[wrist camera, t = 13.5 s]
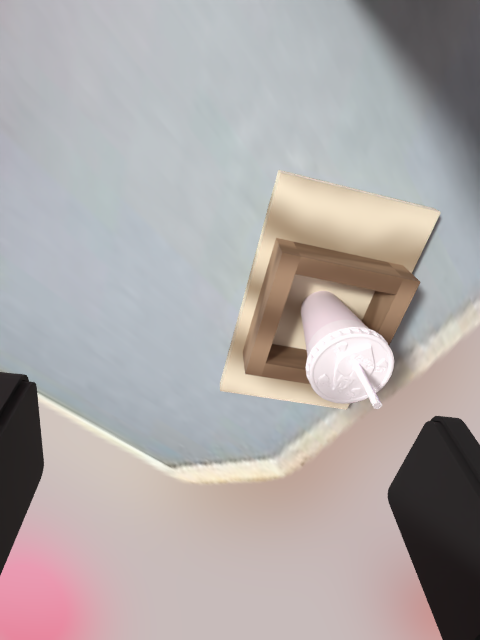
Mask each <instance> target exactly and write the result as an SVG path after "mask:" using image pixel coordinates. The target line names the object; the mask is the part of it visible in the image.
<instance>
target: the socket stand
mask: <svg viewBox="0 0 480 640" xmlns="http://www.w3.org/2000/svg"><path fill="white" fill-rule="evenodd" d="M440 213H441V212H439V211H438V210H436V209H434V208H430V207H426V206H422V205H418V204H414V203H410V202H406V201H402V200H398V199H394V198H390V197H386V196H382V195H378V194H374V193H370V192H366V191H361V190H357V189H353V188H349V187H345V186H341V185H337V184H333V183H329V182H325V181H321V180H317V179H313V178H309V177H305V176H301V175H297V174H293V173H289V172H285V171H281V170H278V174H277V178H276V181H275V185H274V188H273V192H272V196H271V199H270V203H269V207H268V210H267V214H266V218H265V221H264V225H263V229H262V232H261V236H260V239H259V243H258V247H257V250H256V254H255V258H254V261H253V265H252V269H251V272H250V276H249V280H248V283H247V287H246V290H245V294H244V298H243V301H242V305H241V309H240V312H239V316H238V320H237V323H236V327H235V331H234V334H233V338H232V341H231V345H230V349H229V352H228V356H227V360H226V363H225V367H224V371H223V374H222V378H221V382H220V391H225V392H231V393H238V394H245V395H252V396H258V397H265V398H272V399H278V400H285V401H292V402H299V403H305V404H312V405H319V406H326V407H332V408H339V409H346V410H347V408H348V406H349V404H350V403H347V404H341V403H334V402H330V401H327V400H325V399H323V398H321V397H320V396H319V395H318V394H316V392H315V391H314V390H313V388H312V386H311V384H310V382H309V380H308V378H307V375H306V368H305V367H306V362H307V349H306V343H305V337H304V330H303V324H302V317H301V306H302V303H303V301H304V300H305V299H306V298H307V297H308V296H309V295H310V294H312V293H314V292H317V291H329V292H331V293H333V294H334V295H336V296H337V297H338V298H339V299H340V300H341V301H342V302H343V303H344V304H345V305H346V306H347V307H348V308H349V309H350V310H351V311H352V312H353V313H354V314H355V315H356V316H357V317H358V318H359V319H360V320H361V321H362V322H363V323H364V324H365V325H366V326H367V327H368V328H369V329H371V330H374V331H375V332H377V333H378V334H380V335H382V337H383V338H384V339H385V340H386V342H387V343H388V346H389V345H390V343H391V341H392V339H393V337H394V334H395V332H396V330H397V328H398V326H399V324H400V322H401V320H402V318H403V316H404V314H405V312H406V310H407V308H408V306H409V304H410V302H411V300H412V298H413V296H414V294H415V292H416V290H417V288H418V286H419V284H420V281H419V280H418V279H417V278H416V277H415V276H414V275H413V274H412V272H413V270H414V267H415V265H416V263H417V261H418V259H419V257H420V255H421V253H422V251H423V249H424V246H425V244H426V242H427V240H428V238H429V236H430V234H431V232H432V230H433V228H434V226H435V223H436V221H437V219H438V217H439V215H440Z"/></svg>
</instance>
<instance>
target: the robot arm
mask: <svg viewBox="0 0 480 640" xmlns="http://www.w3.org/2000/svg"><path fill="white" fill-rule="evenodd" d="M43 467H44V459H43V449H42V438H41V428H40V418H39V407H38V397H37V387H36V383H35V382H29V380H28V377H27V375H23V374H13V373H3V372H0V575H1V572H2V570H3V568H4V565H5V563H6V561H7V558H8V556H9V553H10V551H11V549H12V546H13V544H14V541H15V539H16V536H17V534H18V531H19V529H20V527H21V525H22V522H23V520H24V517H25V515H26V513H27V510H28V508H29V506H30V503H31V501H32V498H33V496H34V494H35V491H36V489H37V486H38V484H39V481H40V479H41V476H42V473H43ZM388 501H389V504H390V507H391V509H392V512H393V514H394V517H395V519H396V522H397V525H398V527H399V530H400V532H401V534H402V537H403V540H404V542H405V545H406V547H407V550H408V552H409V555H410V557H411V560H412V563H413V565H414V568H415V570H416V573H417V575H418V578H419V580H420V583H421V585H422V588H423V591H424V593H425V596H426V598H427V601H428V603H429V606H430V608H431V611H432V613H433V616H434V619H435V621H436V624H437V626H438V629H439V631H440V634H441V636H442V639H443V640H480V445H479V443H478V442H477V440H476V439H475V437H474V436H473V435H472V433H471V432H470V430H469V429H468V427H467V426H466V424H465V423H464V422H463V421H462V420H461V419H459V418H452V417H441V416H435V417H434V418H432V419H431V421H428V422H426V423H425V425H424V426H423V428H422V430H421V432H420V433H419V435H418V437H417V439H416V441H415V443H414V444H413V446H412V448H411V449H410V451H409V453H408V455H407V457H406V459H405V460H404V462H403V464H402V466H401V467H400V469H399V471H398V473H397V475H396V476H395V478H394V480H393V482H392V483H391V485H390V487H389V490H388Z"/></svg>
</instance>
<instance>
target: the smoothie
mask: <svg viewBox="0 0 480 640" xmlns="http://www.w3.org/2000/svg"><path fill="white" fill-rule="evenodd" d="M301 317H302V324H303V330H304V337H305V343H306V349H307V362H306V367H305V368H306V375H307V378H308V380H309V382H310V384H311V386H312V388H313V390H314V391H315V392H316V394H318V395H319V396H320V397H321V398H323V399H325V400H327V401H330V402H334V403H341V404H347V403H354V402H359V401H362V400H364V399H367V398H369V400H370V402H371V404H372V406H373V407H374V408H375V409H379V408H381V406H382V403H381V402H380V400H379V398H378V396H377V394H376V393H377V392H378V391H379V390H380V389H382V388H383V387H384V385H385V384H386V383H387V382H388V380H389V379H390V377H391V375H392V372H393V368H394V356H393V353H392V351H391V349H390V347H389V346H388V343H387V342H386V340H385V339H384V338H383V337H382V335H380V334H378V333H377V332H375V331H374V330H371V329H369V328H368V327H367V326H366V325H365V324H364V323H363V322H362V321H361V320H360V319H359V318H358V317H357V316H356V315H355V314H354V313H353V312H352V311H351V310H350V309H349V308H348V307H347V306H346V305H345V304H344V303H343V302H342V301H341V300H340V299H339V298H338V297H337V296H336V295H334V294H333V293H331V292H329V291H317V292H314V293H312V294H310V295H309V296H308V297H307V298H306V299H305V300H304V301H303V303H302V306H301Z"/></svg>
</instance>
